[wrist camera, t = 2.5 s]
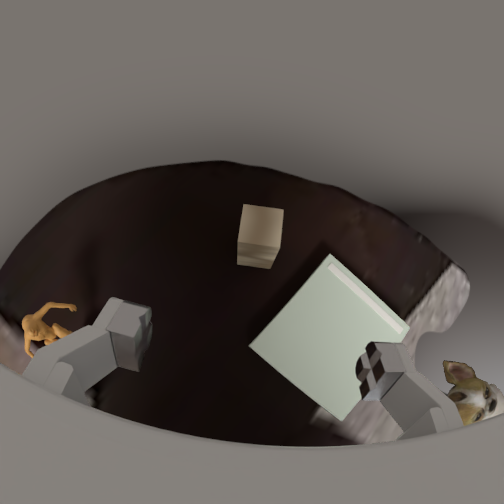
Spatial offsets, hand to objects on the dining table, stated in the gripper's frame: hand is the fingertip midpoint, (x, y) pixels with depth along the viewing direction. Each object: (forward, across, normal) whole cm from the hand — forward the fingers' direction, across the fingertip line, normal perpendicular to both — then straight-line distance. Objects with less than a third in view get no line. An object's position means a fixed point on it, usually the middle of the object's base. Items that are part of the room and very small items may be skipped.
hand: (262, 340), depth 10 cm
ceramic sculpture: (+9, +34, -20) cm, 41 cm away
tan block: (+24, +1, -9) cm, 26 cm away
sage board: (+16, +12, -15) cm, 25 cm away
